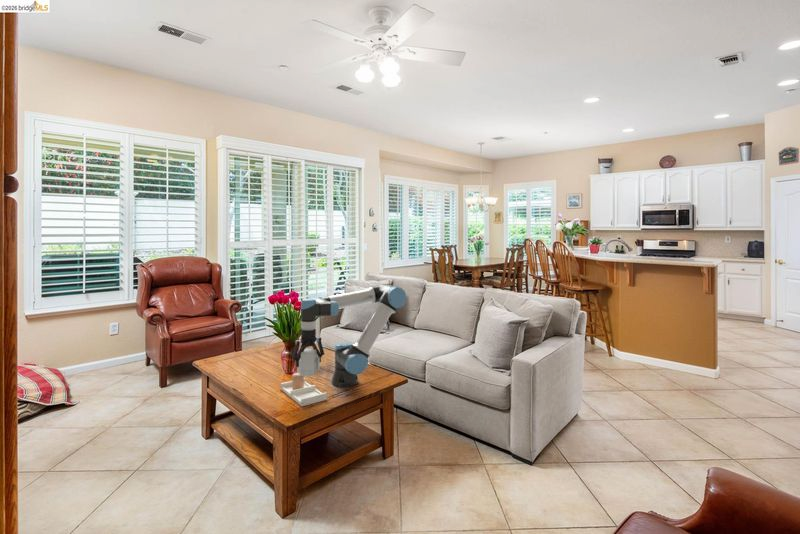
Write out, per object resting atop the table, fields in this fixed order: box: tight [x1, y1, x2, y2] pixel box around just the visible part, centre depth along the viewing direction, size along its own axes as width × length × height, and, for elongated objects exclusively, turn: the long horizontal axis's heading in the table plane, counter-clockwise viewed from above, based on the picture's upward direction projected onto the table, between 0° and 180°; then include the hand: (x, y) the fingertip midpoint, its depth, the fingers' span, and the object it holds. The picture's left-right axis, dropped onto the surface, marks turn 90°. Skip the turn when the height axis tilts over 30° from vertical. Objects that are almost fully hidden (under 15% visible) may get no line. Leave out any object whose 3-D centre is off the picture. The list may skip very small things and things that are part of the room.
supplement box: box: [300, 348, 318, 377], centre depth 206 cm, size 7×7×13 cm
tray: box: [280, 372, 328, 407], centre depth 213 cm, size 14×27×9 cm, turn 39°
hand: (308, 370), depth 207 cm, fingers closed on supplement box, 10 cm apart
